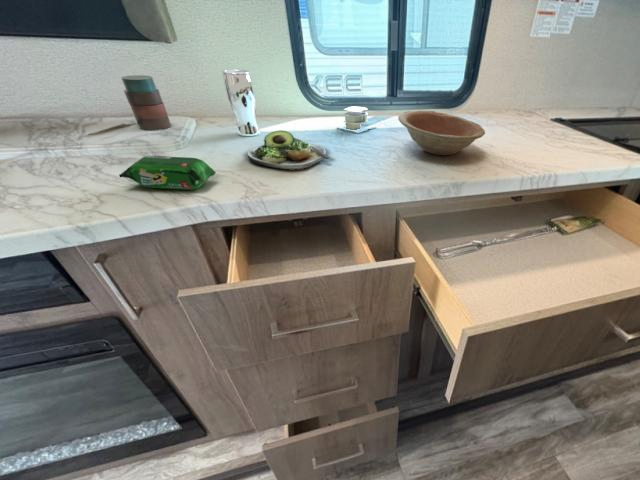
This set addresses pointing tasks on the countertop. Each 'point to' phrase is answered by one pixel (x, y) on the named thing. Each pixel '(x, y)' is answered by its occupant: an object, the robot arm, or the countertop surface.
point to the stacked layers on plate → (355, 117)
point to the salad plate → (286, 152)
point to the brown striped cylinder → (148, 110)
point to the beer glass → (241, 100)
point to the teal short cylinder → (139, 84)
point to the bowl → (440, 131)
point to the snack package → (169, 172)
